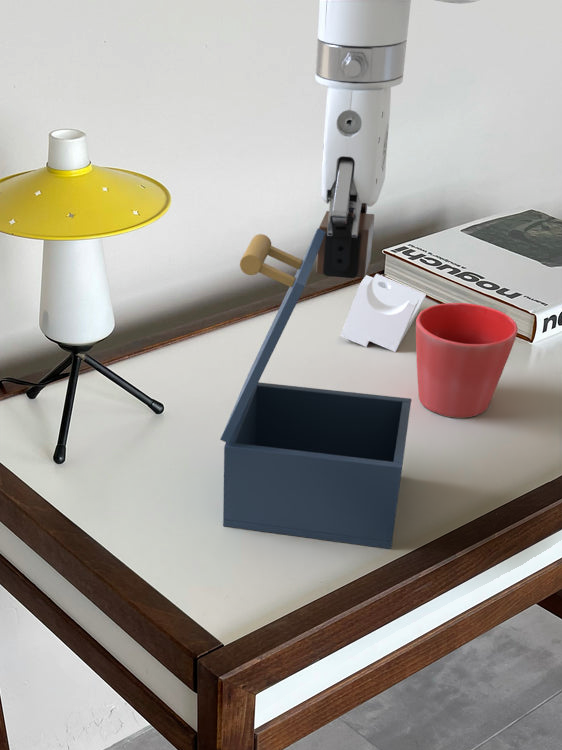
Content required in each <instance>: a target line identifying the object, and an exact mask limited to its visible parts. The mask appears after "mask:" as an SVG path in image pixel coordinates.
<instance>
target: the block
mask: <svg viewBox="0 0 562 750" xmlns="http://www.w3.org/2000/svg"><path fill="white" fill-rule="evenodd" d="M349 214H352V217H353V213H350V212H349ZM328 217H329V210H326V211H325V214H324V216H323V218H322V220H321V223H320V225H319V227H318V228H319V229H321V230H323V231H325V232H327V228H328ZM374 225H375V214H374V213H366V214H363V213H360V221H359V230H358V235H361V243H360V254H359V266H358V274H357V276H356V277H355V278H362V279H364V277H365V276H366V275H367V272H368V269H369V266H370V262H371V258H372V257H371V256H372V247H373V235H374V234H373V233H374ZM325 236H326V233H325V235H324V238H323V241H322V243H321V246H320V248H319V251H318V254H317V256H316V270H315V272H316V275H324V273H323V266H324V251H325Z"/></svg>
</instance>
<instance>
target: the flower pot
mask: <svg viewBox="0 0 562 750" xmlns="http://www.w3.org/2000/svg"><path fill="white" fill-rule="evenodd" d="M518 328H519V327H518V325H517V323H516V321H515V320H514V319H513V317H511V316H509V315H508V314H506V313H505V312H503V311H501V310H499V309H497V308H492V307H489V306H486V305H481V304H477V303H468V302H467V303H466V302H447V303H445V302H444V303H439V304H435V305H431V306H429V307H426V308H424V309H422V310H421V311H419V312H418V314H417V316H416V318H415V345H416V346H415V349H416V350H415V352H416V374H417V375H416V377H417V391H418V400H419V402H420V404H421V405H422V406H423V407H424V408H426V409H427V410H428V411H430V412H433V413H436V414H439V415H441V416H444V417H449V418H455V419H457V418H458V419H459V418H460V419H464V418H465V419H467V418H472V417H476V416H479V415H480V414H483V413H484V412H485V411H487V409H488V408H489V406H490V404H491V401H492V399H493V396H494V394H495V391H496V389H497V387H498V385H499V381H500V380H501V376H502V374H503V372H504V369H505V367H506V365H507V362H508V360H509V357H510V354H511V352H512V349H513V346H514V344H515V341H516V339H517V335H518V332H519V331H518V330H519V329H518Z"/></svg>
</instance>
